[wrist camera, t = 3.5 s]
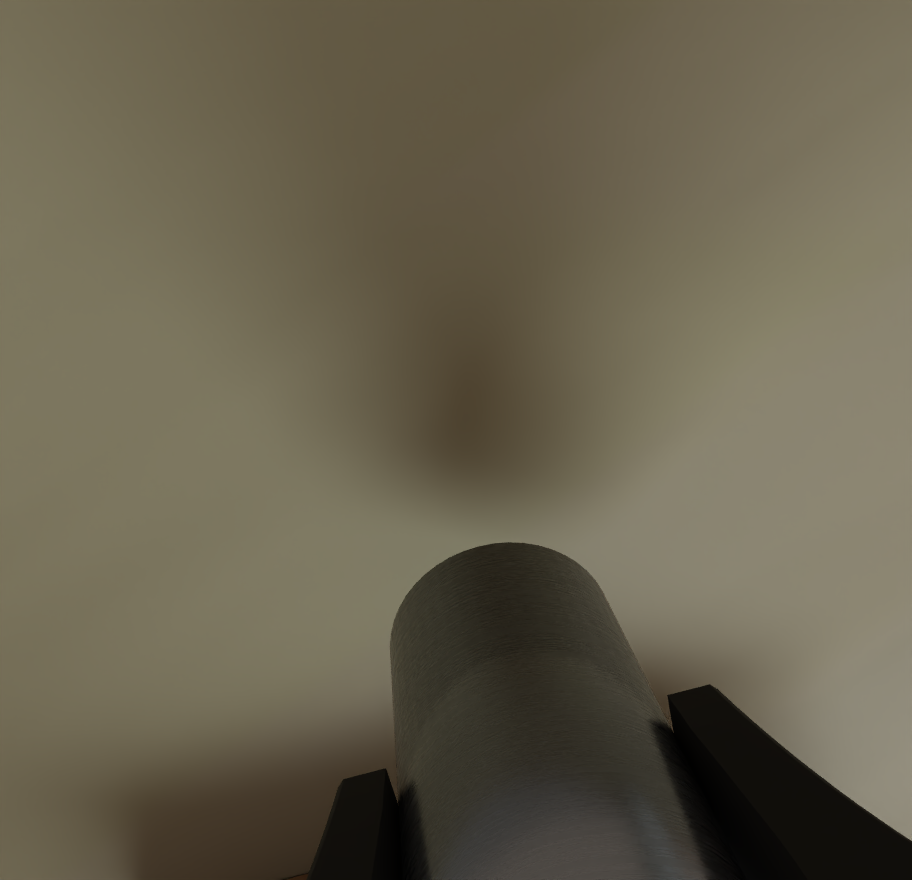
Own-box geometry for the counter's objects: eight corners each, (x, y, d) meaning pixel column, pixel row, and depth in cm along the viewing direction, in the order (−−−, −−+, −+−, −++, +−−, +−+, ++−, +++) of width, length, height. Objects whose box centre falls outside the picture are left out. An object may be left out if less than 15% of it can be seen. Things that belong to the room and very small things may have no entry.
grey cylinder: (420, 756, 16) (485, 1460, 8) (363, 575, 15) (367, 1206, 6) (627, 703, 16) (914, 1344, 8) (592, 517, 15) (902, 1066, 6)
